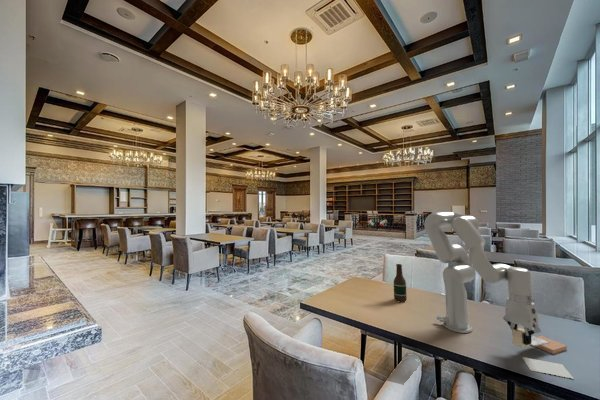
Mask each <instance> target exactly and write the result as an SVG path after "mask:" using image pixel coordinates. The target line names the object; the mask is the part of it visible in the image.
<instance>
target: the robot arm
mask: <svg viewBox="0 0 600 400" xmlns="http://www.w3.org/2000/svg"><path fill="white" fill-rule="evenodd" d="M423 225H424V226H423V227H424V231H425V232H426V235H427V236H428V238H429V240H430V243H431V245H432V247H433V250H434V251H435V254H436V256H437V259H438V261H440V262H441V263H443V264H452V265H449V266H446V267H445V268H444V269H443V271H442V279H443V284H444V291H445V293H444V295H445V311H446V314H445V315H443V316H441V315H436V320H438V321H439V322H440V323H443V327H445V329H447V330H448V331H451V332H455V333H460V334H468V333H471V332H472V331H473V327H472V326H471V324H469V314H468V312H469V311H468V308H469V307H468V293H467V290H466V287H465V283H469V282H471V281H473V280H474V279H475V278H476V272H477V274H478V275H479V276H480V277H481V278H482V280H483V281H485V282H486V283H489V284H498V283H501V282H507V294H508V295H507V296H508V297H506V300H505V310H504V314H505V315H504V316H503V318H502V319H503V320H504V321H505V322H506V324H507V325H508V326H509V328H510V329H511V330H512V329H518V328H519V326H520V327H521V328H523V329H524V331H525V335H524V344H525V345H529V344H531V342H532V340H531V336H534V334H540V333H542V330H541V328H540V326H539V317H538V312H537V307H536V305H535V302H536V299H535V298H533V295H532V283H531V282H532V281H531V279H532V278H531V271H530V270H529V269H527V268H525V267H519V266H511V265H508V264H505V263H494V264H492V263H491V262H490V260H489V259H488V258H487V256H486V254H485V246H486V243H487V241H486V239H485V238H484V237H483V236H482V234H481V233H480V232H479V230H478V229H479V228H480V222H479V221H478V219H477V218H476V217H475V216H472V215H468V214H463V213H458V212H453V211H438V212H437V211H436V212H432V213H430V214H428V216H426V218H425V220H424V224H423ZM443 228H452V230H453V232H454V233H455V234H456V235H457V237H458V238H459V239H460V240H461V242H462V243H463V245H464V246H465V247H466V249H467V250H468V251H466V250H465V248H464V247H463V246H462V245H460V244H457V243H451V241H450V240H449V238H448V235H447V234H446V232H444V230H442V229H443ZM467 252H468V253H467Z"/></svg>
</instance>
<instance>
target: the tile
mask: <svg viewBox="0 0 600 400" xmlns="http://www.w3.org/2000/svg"><path fill="white" fill-rule="evenodd" d="M537 337H538V338H540V339H543V340H545V341H548V342H550V343H549V344H544V345H539V346H534V347H536V348H538V349H541V350H543V351H545V352H548V353H549V354H552V355H556V354H559V353H562V352H565V351H567V349H568V348H567V347H568V346H567V345H565V344H563V343H561V342H558V341H557V340H556V341H555V340H553V339H550V338H548V337H545V336H543V335H539V336H537Z"/></svg>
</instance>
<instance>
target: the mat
mask: <svg viewBox="0 0 600 400" xmlns="http://www.w3.org/2000/svg"><path fill="white" fill-rule="evenodd" d="M522 360H523V361H524V362H525V364H526V366H527V367H528V369H529V371H531V372H536V373H540V374H544V373H546V374H545V375H549V374H551V375H550V376H554V375H556V376H555V377H559V376H560V377H559V378H564V377H565V378H564V379H569V378H571V379H570V380H575V378H574V376H573V375H571V373H570V372H569V371H568V369H567V368H566V367H565V366H564V365H563V364H562V363H558V362H557V363H556V362H553V361H552V362H551V361H546V360H540V359H535V358H530V357H525V356H522Z"/></svg>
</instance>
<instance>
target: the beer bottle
mask: <svg viewBox="0 0 600 400" xmlns="http://www.w3.org/2000/svg"><path fill="white" fill-rule="evenodd" d="M395 266H396V275H395V277H394V279H393V298H394V299H395V300H397V301H400V302H402V303H406V302H407V301H406V300H408V299H407V297H408V296H407V281H406V279H405V277H404V276H403V275H404V274H403V265H402V263H401V264H400V263H397V264H396V265H395ZM395 300H394V301H395ZM405 301H406V302H405ZM400 302H399V303H400Z"/></svg>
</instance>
